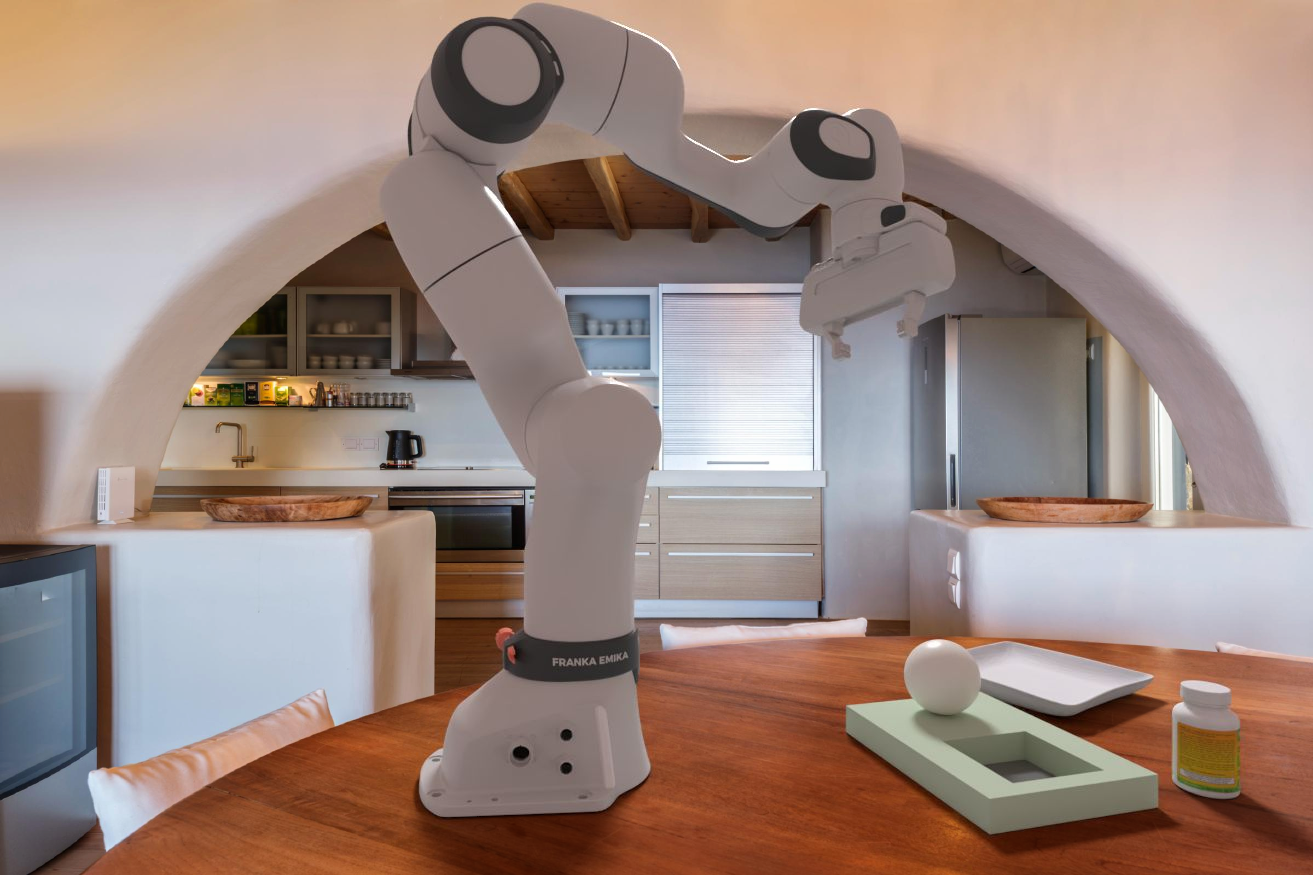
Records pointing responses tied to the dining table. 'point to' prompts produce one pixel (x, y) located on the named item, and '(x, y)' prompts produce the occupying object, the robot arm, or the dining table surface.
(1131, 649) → the dining table surface
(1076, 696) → the salad plate
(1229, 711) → the supplement bottle
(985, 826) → the putting deck
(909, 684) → the ball
